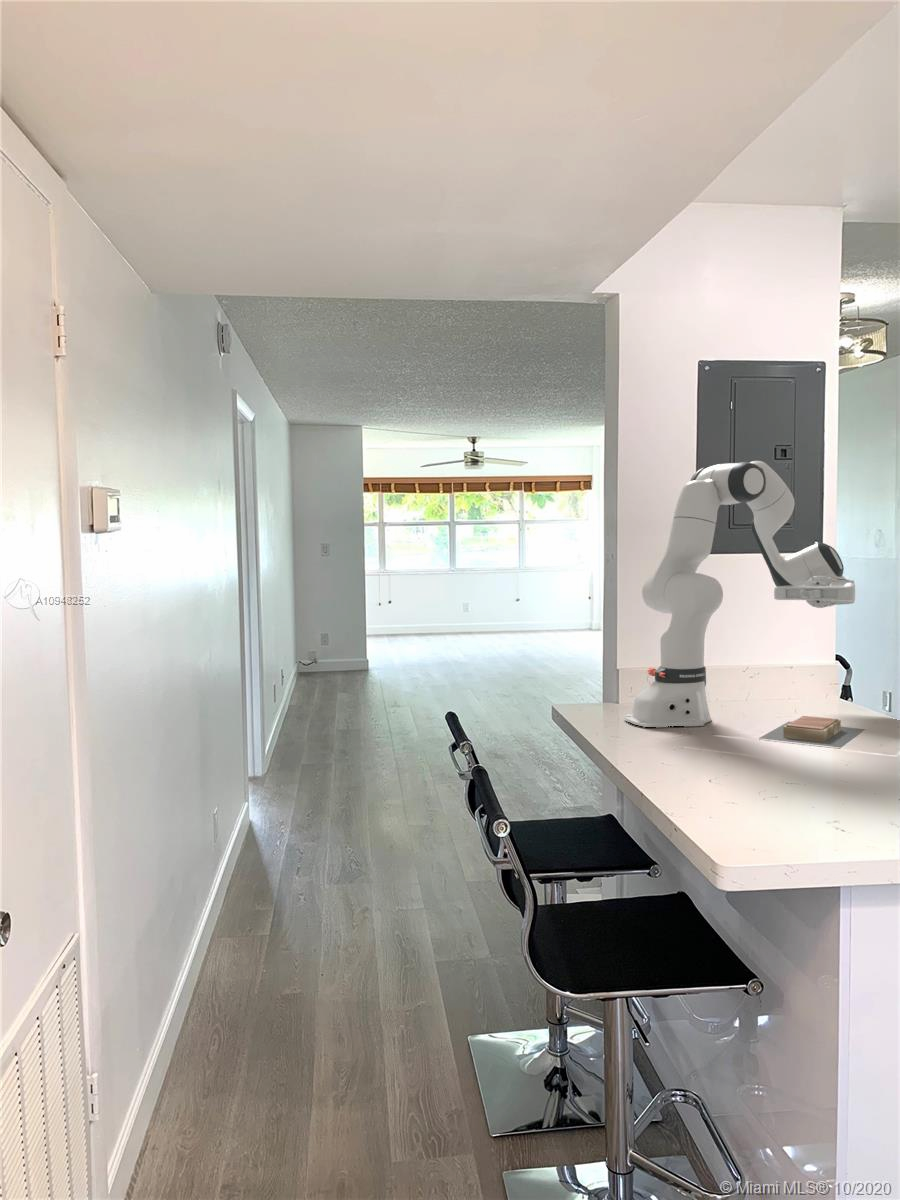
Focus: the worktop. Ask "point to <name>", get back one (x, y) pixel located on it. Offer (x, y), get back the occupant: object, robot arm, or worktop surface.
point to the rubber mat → (834, 741)
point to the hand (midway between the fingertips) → (806, 594)
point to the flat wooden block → (812, 728)
